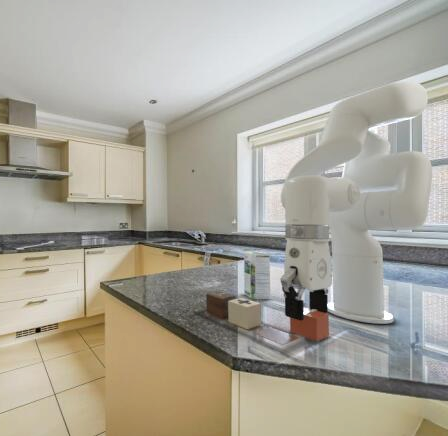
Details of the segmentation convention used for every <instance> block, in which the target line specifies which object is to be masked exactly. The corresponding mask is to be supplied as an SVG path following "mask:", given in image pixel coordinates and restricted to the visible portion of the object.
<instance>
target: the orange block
mask: <svg viewBox="0 0 448 436" xmlns="http://www.w3.org/2000/svg"><path fill="white" fill-rule="evenodd" d="M329 319H330V317H329V313H328V312H327V313H323V312H319V311H317V310H316V309H310V308H309V307H304V319H303V320H301V321H300V320H297V319H294V318H290V317H289V325H290V326H289V332H290V333H293V334H296V335H298V336H301V337H304V338H307V339H310V340H312V341H315V342H319V341H321V340H323V339H325V338H327V337H330V320H329Z"/></svg>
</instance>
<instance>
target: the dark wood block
mask: <svg viewBox="0 0 448 436" xmlns="http://www.w3.org/2000/svg"><path fill="white" fill-rule="evenodd" d="M205 297H206V301H205V302H206V311H207V313H210V314H212V315H215V316H217V317H219V318H222V319H223V318H226V317H228V301H230V300H234V299H236V295H234V294H230V293H227V292H224V291H221V290H218V291H217V290H216V291H213V292H207V293H206V294H205ZM207 313H206V314H207ZM219 318H218V319H219Z"/></svg>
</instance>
